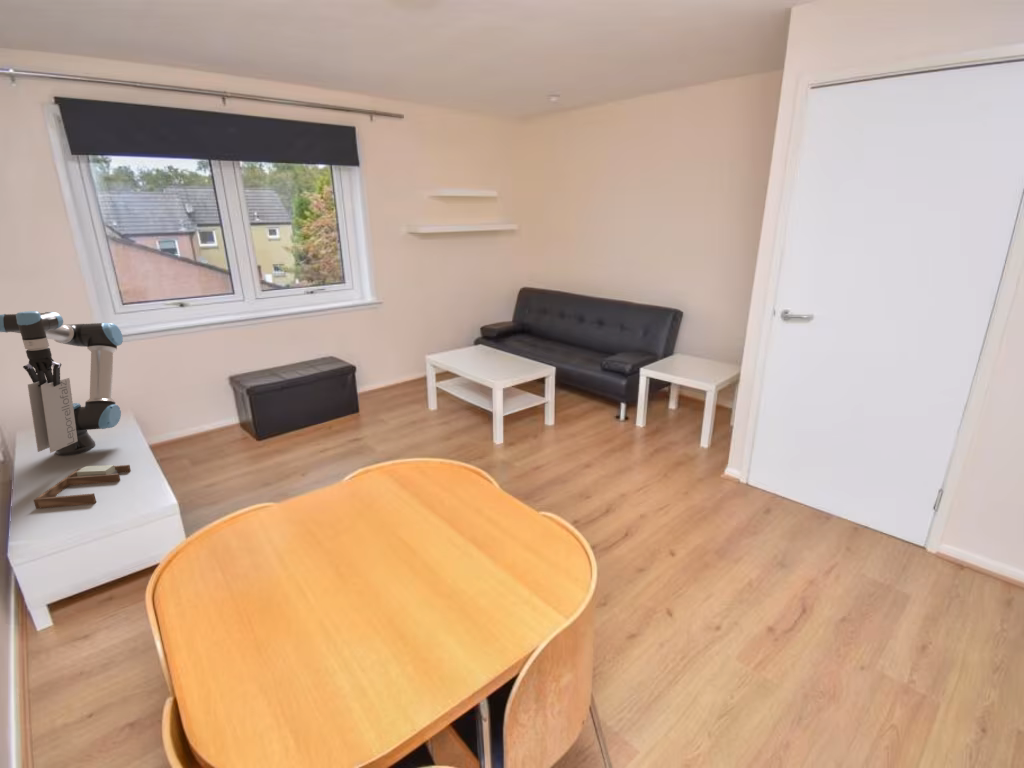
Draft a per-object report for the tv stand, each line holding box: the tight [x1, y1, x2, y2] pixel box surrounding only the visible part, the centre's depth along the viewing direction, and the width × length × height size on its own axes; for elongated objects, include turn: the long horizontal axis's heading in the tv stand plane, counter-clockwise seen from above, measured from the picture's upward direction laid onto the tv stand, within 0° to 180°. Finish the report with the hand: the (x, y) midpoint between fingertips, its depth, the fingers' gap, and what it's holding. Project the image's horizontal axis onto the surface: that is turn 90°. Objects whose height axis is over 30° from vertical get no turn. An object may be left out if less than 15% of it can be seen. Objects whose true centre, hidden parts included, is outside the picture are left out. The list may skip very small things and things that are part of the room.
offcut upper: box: [77, 464, 115, 477], centre depth 222 cm, size 6×12×3 cm, turn 95°
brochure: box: [27, 377, 78, 454], centre depth 219 cm, size 14×6×30 cm, turn 2°
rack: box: [33, 464, 132, 510], centre depth 214 cm, size 28×21×4 cm
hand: (52, 401), depth 217 cm, fingers closed
